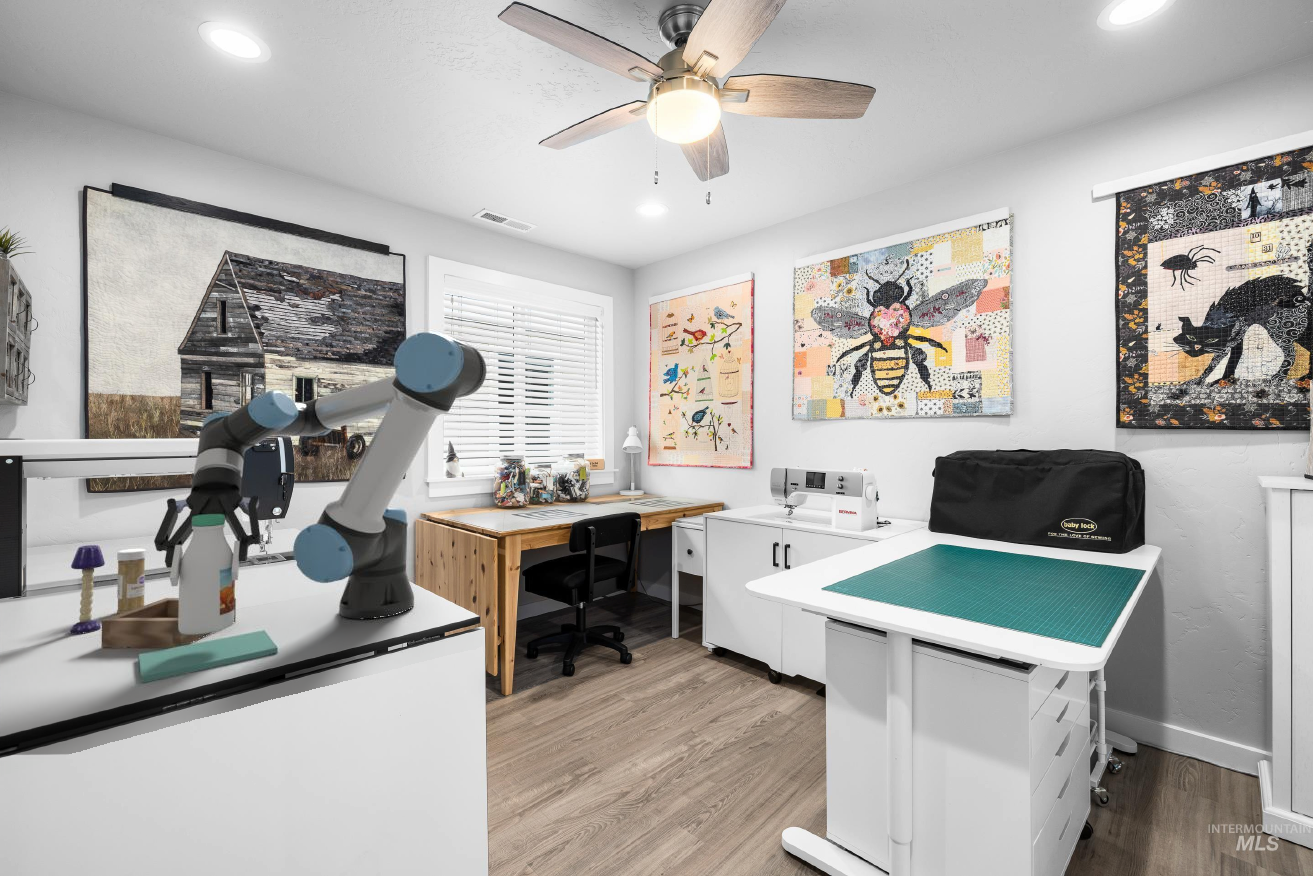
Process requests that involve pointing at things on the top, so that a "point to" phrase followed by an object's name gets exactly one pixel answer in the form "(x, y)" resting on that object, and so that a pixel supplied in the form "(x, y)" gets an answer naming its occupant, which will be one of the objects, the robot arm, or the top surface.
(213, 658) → the green mat
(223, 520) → the milk bottle
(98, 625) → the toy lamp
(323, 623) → the top surface
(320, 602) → the top surface
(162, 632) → the walnut holder
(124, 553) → the sprinkles bottle
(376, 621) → the top surface
